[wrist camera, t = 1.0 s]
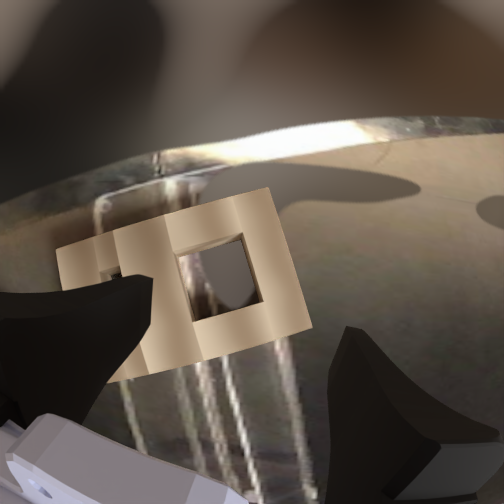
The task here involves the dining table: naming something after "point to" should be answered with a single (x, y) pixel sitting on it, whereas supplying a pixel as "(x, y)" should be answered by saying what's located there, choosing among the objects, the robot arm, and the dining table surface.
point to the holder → (173, 285)
